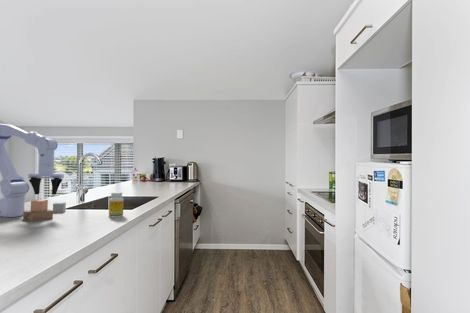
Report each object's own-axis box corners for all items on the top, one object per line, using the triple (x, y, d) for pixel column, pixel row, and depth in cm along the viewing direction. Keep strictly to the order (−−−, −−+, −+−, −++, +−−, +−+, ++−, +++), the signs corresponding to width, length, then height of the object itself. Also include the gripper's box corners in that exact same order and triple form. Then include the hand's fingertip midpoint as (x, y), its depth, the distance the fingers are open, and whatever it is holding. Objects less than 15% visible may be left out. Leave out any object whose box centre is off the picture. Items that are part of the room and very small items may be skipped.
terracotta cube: (30, 211, 122) (30, 201, 122) (36, 209, 127) (37, 199, 127) (41, 211, 123) (42, 201, 123) (47, 209, 127) (47, 199, 127)
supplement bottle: (107, 216, 134) (107, 192, 135) (120, 214, 138) (121, 191, 139) (110, 218, 130) (111, 193, 130) (125, 216, 134) (125, 193, 134)
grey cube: (52, 212, 139) (53, 203, 139) (55, 211, 143) (55, 202, 144) (63, 212, 141) (63, 203, 141) (65, 210, 145) (65, 202, 145)
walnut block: (23, 220, 123) (23, 211, 123) (42, 217, 130) (43, 208, 130) (32, 222, 119) (33, 213, 119) (52, 219, 126) (52, 210, 126)
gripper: (23, 164, 125) (23, 195, 124) (57, 165, 125) (57, 195, 125) (34, 164, 132) (33, 193, 131) (66, 164, 132) (65, 193, 132)
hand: (45, 194), depth 129 cm, fingers open, 7 cm apart
